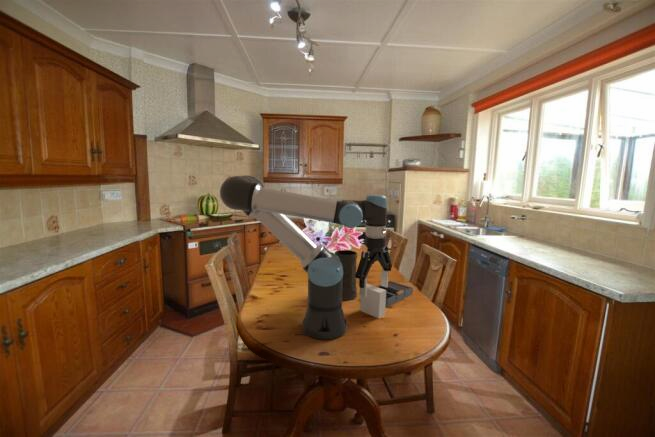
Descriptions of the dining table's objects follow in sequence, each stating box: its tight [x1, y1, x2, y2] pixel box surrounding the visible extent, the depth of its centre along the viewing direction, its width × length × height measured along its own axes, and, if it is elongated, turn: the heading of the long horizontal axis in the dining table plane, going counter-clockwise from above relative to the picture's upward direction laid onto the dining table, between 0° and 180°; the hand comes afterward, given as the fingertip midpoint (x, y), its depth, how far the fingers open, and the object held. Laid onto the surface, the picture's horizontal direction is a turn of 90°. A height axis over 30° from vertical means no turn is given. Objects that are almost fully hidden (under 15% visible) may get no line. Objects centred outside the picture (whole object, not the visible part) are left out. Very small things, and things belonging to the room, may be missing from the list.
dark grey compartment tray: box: [375, 280, 414, 308], centre depth 133 cm, size 20×12×4 cm, turn 135°
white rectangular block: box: [359, 283, 386, 319], centre depth 116 cm, size 4×9×10 cm, turn 45°
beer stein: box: [334, 249, 358, 301], centre depth 134 cm, size 15×11×20 cm
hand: (374, 291), depth 116 cm, fingers open, 13 cm apart
